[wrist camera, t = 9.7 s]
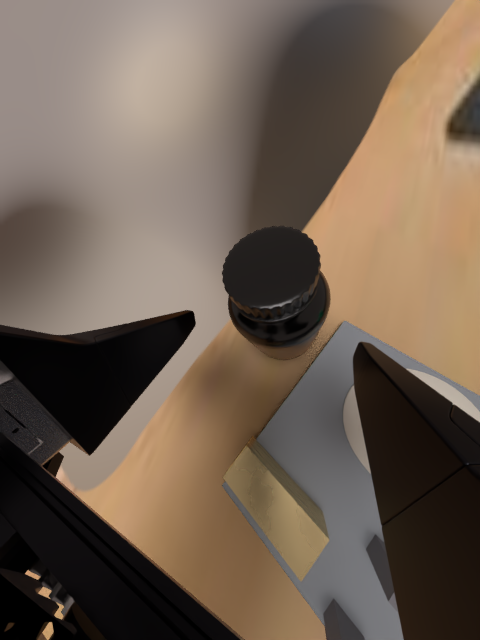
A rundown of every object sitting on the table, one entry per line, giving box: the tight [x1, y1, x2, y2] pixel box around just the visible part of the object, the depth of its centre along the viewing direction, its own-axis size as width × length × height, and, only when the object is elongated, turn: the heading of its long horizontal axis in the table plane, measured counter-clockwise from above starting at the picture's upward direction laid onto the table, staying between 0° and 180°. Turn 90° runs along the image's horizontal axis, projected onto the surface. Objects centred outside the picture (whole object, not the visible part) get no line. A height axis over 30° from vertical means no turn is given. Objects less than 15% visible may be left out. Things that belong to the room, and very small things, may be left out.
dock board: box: [222, 321, 480, 640], centre depth 12 cm, size 19×13×4 cm
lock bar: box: [223, 436, 329, 582], centre depth 13 cm, size 3×7×2 cm, turn 50°
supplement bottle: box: [222, 226, 330, 360], centre depth 14 cm, size 7×7×12 cm
